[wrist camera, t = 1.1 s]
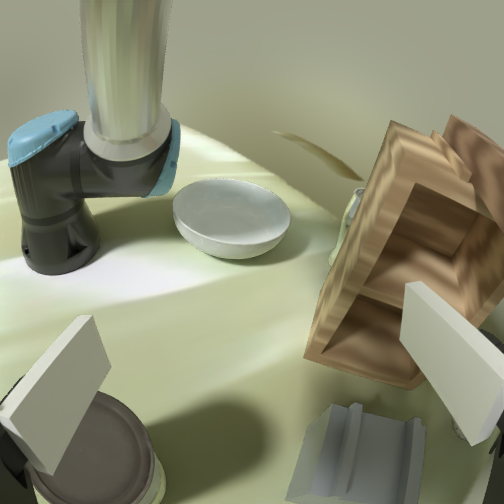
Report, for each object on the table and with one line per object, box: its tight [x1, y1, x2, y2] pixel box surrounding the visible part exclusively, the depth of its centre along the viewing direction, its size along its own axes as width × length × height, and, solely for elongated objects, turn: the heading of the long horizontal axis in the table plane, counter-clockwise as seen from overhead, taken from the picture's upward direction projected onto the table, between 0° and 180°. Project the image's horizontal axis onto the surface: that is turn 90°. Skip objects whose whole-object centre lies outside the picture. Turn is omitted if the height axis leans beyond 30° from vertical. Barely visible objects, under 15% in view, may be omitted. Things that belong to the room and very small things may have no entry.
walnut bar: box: [442, 115, 504, 235], centre depth 21 cm, size 24×4×4 cm, turn 162°
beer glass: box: [328, 188, 365, 267], centre depth 54 cm, size 7×7×15 cm
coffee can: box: [25, 391, 166, 504], centre depth 20 cm, size 10×10×14 cm
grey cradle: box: [285, 402, 426, 504], centre depth 26 cm, size 10×12×10 cm
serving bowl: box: [172, 178, 291, 259], centre depth 57 cm, size 21×21×7 cm
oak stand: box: [303, 120, 504, 390], centre depth 36 cm, size 14×18×31 cm
